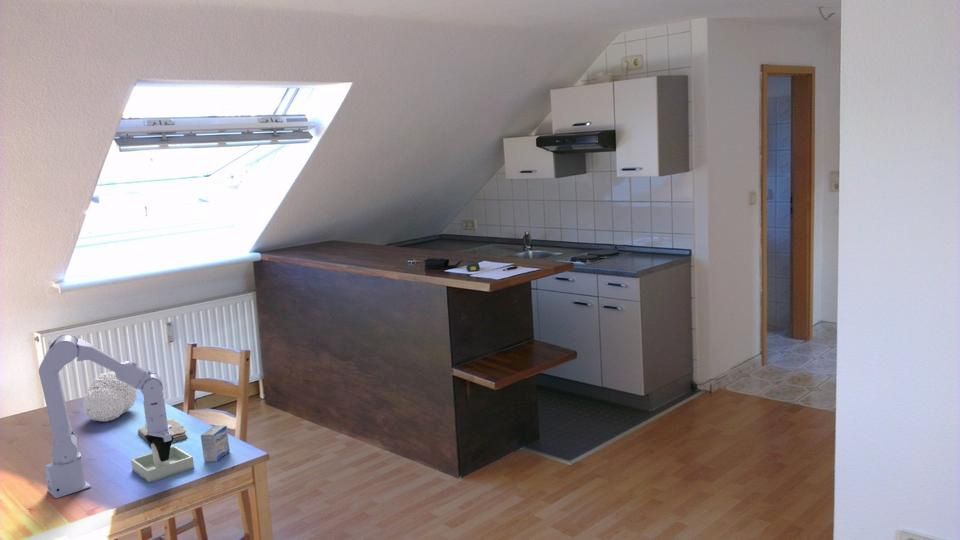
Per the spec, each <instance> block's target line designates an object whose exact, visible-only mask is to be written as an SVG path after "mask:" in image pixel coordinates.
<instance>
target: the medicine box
mask: <svg viewBox="0 0 960 540" xmlns="http://www.w3.org/2000/svg"><path fill="white" fill-rule="evenodd" d="M200 440H201V446H202V447H201V448H202V454H203V455H202V456H203V461H204V462H208V463H209V462H211V463H212V462H214V463H216V462H217V461H218V462H219V461H220V460H222V458H224V457H225V456H226V455H228V453H229V452H231V450H230V444H229V443H230V441H229V435H228V427H227V425H221V424H220V425H213V426H212V427H210V428H209V429H207V430H206V431H205V432H203V433H202V434H200ZM224 455H225V456H224ZM223 456H224V457H223ZM218 462H217V463H218Z"/></svg>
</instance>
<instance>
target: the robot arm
mask: <svg viewBox="0 0 960 540" xmlns="http://www.w3.org/2000/svg"><path fill="white" fill-rule="evenodd" d="M76 358H77V359H76ZM75 359H76V361H77V362H81V361H91V362H93V363H94V364H97V365H99V366H101V367H102V368H105V369H107V370H109V371H110V372H115V374H116V378H117V379H119V380H121V381H123V382H125V383H127V384H128V385H130V386H132V387H134V388H136V390H140V392H141V394H142V395H143V403H142V404H143V409H144V410H143V411H144V418H145V423H146V424H144V425H145V426H144V427H146V431H147V435H145V436H144V437H145V439H146V440H147V441H148V442H147V441H146V440H145V439H144V440H145V441H146V442H147V443H148V444H149V446H150V449H151V450H152V448H151V444H152V443H154V445H155V446H156V448H157V451H158V454H159V458H160V460H161V462H163V461H166V460H169V453H170V447H172V444H173V442H172V441H173V439H174V438H173V436H171V434H170V433H169V429H171V428H172V425H168V423H167V421H168V418H167V410H166V402H165V401H166V400H165V397H164V392H163V390H164V385H163V380H162V378H161V377H160V376H159V374H157V373H156V372H152V371H151V370H149V369H148V370H146V369H144V368H142V367H140V366H139V365H137V364H138V363H137V362H136V361H134V360H133V361H130V360H126V361H125V360H124V361H120V360H118V359H117V358H115V357H113V356H111V355H110V354H108V353H107V352H105V351H103V350H101V349H100V348H98V347H96V346H95V345H93V344H91V343H89V342H87V341H86V340H84V339H82V338H78V337H76V336H75V335H73V334H70V333H64V334H60V335H59V336H57V337H56V339H54V340H53V341H52V342H51V343H50V345H49V347H48V349H47V351H46V353H45V355H44V357H43V359H42V361H41V363H40V365H39V368H38V374H39V379H40V383H41V389H42V392H43V396H44V397H43V398H44V402H45V405H46V409H47V414H48V419H49V422H50V428H51V433H52V434H51V435H52V437H51V439H52V443H53V447H52V450H51V456H52V461H51V462H50V463H48V464H45V465H44V475H45V480H46V486H47V492H48V493H49V494H50V495H51V496H52V497H53V498H54V499H58V498H59V499H60V498H62V497H64V496H68V495H71V494H74V493H76V492H77V493H78V492H79V491H80V492H81V491H83V490H85V489H86V490H87V489H89V488H91V487H92V485H91V484H90V483H89V482H88V481H86V475H85V471H84V470H85V469H84V463H83V457H82V453H81V452H80V451H79V450H78V446H79V443H80V442H79V441H80V440H79V437H78V435H77V434H76V433H75V432H74V430H73V425H72V423H71V421H70V417H69V413H68V408H67V404H66V398H65V393H64V390H63V386H62V381H61V377H60V376H61V375H60V371H61V370H63V368H64V367H65V366H66V365H68V364H70V363H71V362H73V360H75Z"/></svg>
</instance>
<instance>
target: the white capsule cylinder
mask: <svg viewBox="0 0 960 540" xmlns="http://www.w3.org/2000/svg"><path fill="white" fill-rule="evenodd" d="M151 448H152V449H151ZM150 449H151V453H152V454H153V460H154V466H155V468H158V467H161V466H164V465H167V464H170V462H169V460H166V461H163V462H161V460H160V458H159V454H158V451H157V448H156V446H155V445H154V443H152V444H151V447H150Z"/></svg>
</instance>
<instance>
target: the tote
mask: <svg viewBox="0 0 960 540" xmlns="http://www.w3.org/2000/svg"><path fill="white" fill-rule="evenodd" d="M169 462H170V464H167V465H164V466H161V467H158V468H155V466H154V460H153V454H152V452H150V453H148V454H144V455H140V456H137V457H135V458H132V459H130V463H131V469H132V471H133V472H134V473H135V474H136V475H138V476H139V477H140V478H142V479H143V480H145V481H146V482H147V483H149V484H151V483H154V482H157V481H160V480H163V479H166V478H168V477H171V476H174V475H178V474H180V473H183V472H186V471H189V470H193V469H194V468H195V463H194V457H193V456H192V455H190V454H189V453H187V452H186V451H184V450H182V448H179V447H177V446H176V445H173V446H172V445H171V447H170V453H169Z"/></svg>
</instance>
